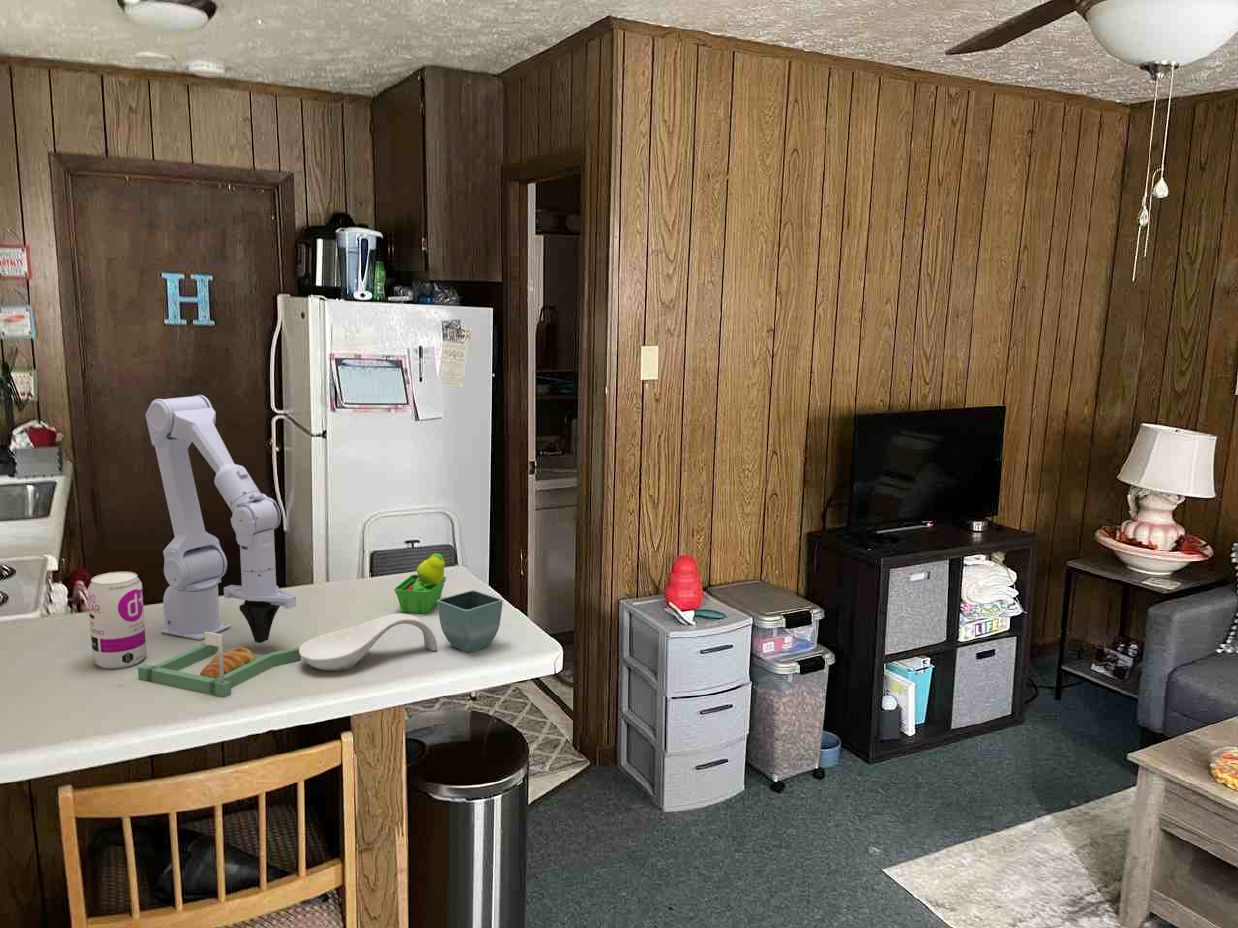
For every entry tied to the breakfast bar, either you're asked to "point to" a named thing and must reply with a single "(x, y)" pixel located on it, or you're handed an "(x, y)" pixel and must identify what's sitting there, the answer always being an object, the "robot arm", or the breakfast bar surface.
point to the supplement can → (117, 620)
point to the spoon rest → (356, 642)
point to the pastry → (228, 662)
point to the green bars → (222, 685)
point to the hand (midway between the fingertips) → (261, 640)
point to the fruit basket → (422, 586)
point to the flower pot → (470, 619)
